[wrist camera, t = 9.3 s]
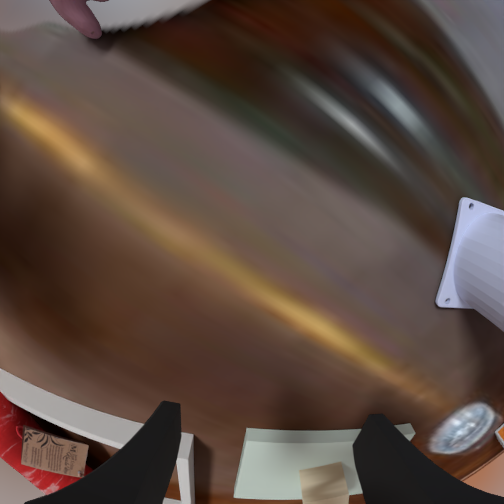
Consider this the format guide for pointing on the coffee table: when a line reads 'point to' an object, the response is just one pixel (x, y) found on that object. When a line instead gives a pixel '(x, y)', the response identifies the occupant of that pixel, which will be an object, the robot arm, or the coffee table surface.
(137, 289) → the coffee table surface
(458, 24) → the coffee table surface
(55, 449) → the red bottle
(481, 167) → the coffee table surface
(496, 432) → the skincare box
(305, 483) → the maple cube
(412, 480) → the robot arm
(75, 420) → the bottle tray rim
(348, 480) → the board
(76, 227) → the coffee table surface
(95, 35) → the video game controller
